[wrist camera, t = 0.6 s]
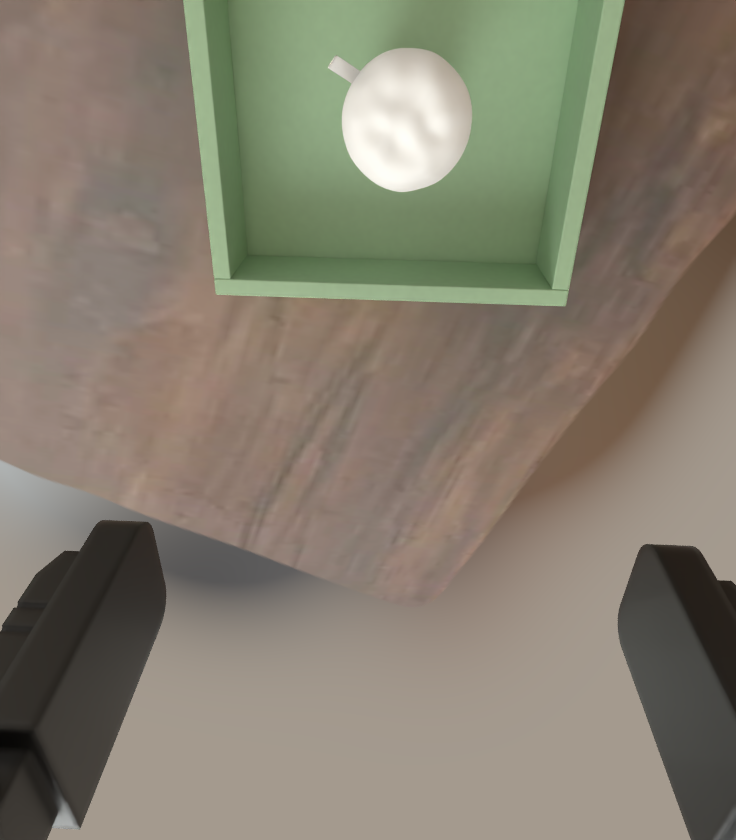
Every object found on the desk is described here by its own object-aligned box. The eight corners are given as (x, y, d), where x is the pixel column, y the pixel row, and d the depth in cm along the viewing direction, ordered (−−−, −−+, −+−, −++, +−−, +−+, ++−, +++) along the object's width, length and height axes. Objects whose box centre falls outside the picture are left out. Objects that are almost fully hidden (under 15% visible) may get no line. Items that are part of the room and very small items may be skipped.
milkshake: (384, 7, 27) (378, -10, 18) (474, 96, 28) (507, 119, 20) (321, 99, 29) (289, 123, 20) (408, 177, 30) (413, 230, 22)
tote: (200, -141, 25) (163, -176, 21) (616, -134, 25) (658, -168, 21) (236, 265, 34) (215, 295, 30) (545, 275, 33) (566, 306, 29)
